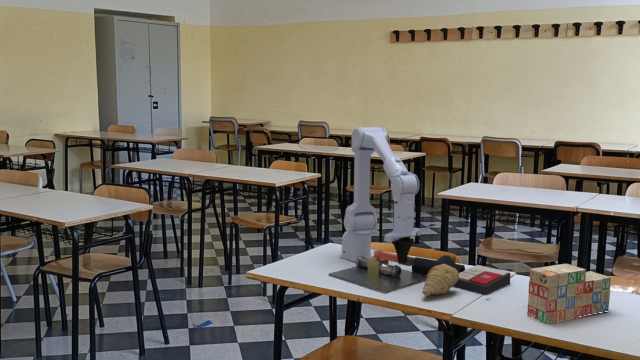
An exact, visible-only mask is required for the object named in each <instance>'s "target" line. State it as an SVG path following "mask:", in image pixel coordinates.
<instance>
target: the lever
mask: <svg viewBox="0 0 640 360" xmlns="http://www.w3.org/2000/svg"><path fill="white" fill-rule="evenodd" d="M373 257H375V258H380V259H384V260H388V262H393V263H397V264H398V265H403V266H406V267H412V265H414V258H415V257H413V256H409V255H408V256H407V259H406V263H405V264H403V263H399V262H398V257H397V253H391V252H388V251H384V250H381V249H380V250H379V249H376V250H374V251H373Z"/></svg>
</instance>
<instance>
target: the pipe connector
mask: <svg viewBox="0 0 640 360" xmlns="http://www.w3.org/2000/svg"><path fill="white" fill-rule="evenodd" d="M456 258H457V257H456V256H451V255H449V254H442V255H441V256H439V258H438V259H436V260H435V259H430V258H424V257H419V256H416V257H414V265H412V266H411V272H415V273H419V274H422V275H426V276H427V274H428V272H429V270H430V269H431V268H432V267H434V266H437V265H441V264H446V265H449V266H451V267H453V268H455V269H456V270H457V271H458V273H461V272H463V271H465V270H466V267H465V264H460V263H456V261H457V260H456Z"/></svg>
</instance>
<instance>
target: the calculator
mask: <svg viewBox="0 0 640 360" xmlns="http://www.w3.org/2000/svg"><path fill="white" fill-rule="evenodd" d="M510 284H511V272H509V271H507V270H502V269H497V268H492V267H488V266H483V265H479V264H476V265H474V266H472V267H469V268H466V269H465V271H463V272H461V273H459V277H458V281H457V283H455V284H454V285H453V286H452V287H451V288H456V289H459V290H463V291H467V292H471V293H476V294H480V295H484V296H487V295H490V294H492V293H494V292H497V291H498V290H500V289H501V288H505V287H507V286H508V285H510Z"/></svg>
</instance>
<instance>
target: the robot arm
mask: <svg viewBox="0 0 640 360" xmlns="http://www.w3.org/2000/svg"><path fill="white" fill-rule="evenodd" d="M388 134H389V133H388V132H387V129H386V128H385V127H383V126H377V127H375V126H373V127H371V126H370V127H367V126H365V127H363V126H362V127H360V126H356V127H355V128H354V130H353V131H352V133H351V152H352V153H354V163H353V164H354V168H353V171H354V175H353V177H354V179H353V183H354V184H353V202H352V204H350V205H349V206H348V207H346V208H345V214H344V218H343V225H344V228H345V232H344V233H343V235H342V237H341V255H339V258H342V259H345V260H348V261H352V262H355V263H356V259H357V257H358V256H364V257H365V258H367V259H368V258H372V257H373V256H372V255H371V251H372V249H371V248H372V234H374V231H375V230H376V229H377V227H378V218H377V217H378V216H377V210H376V208H375V207H374V206H372V204H370V193H371V192H370V191H371V190H370V188H371V186H370V184H371V156H372V154H374V153H376V154H377V155H378V156H379V157H380V159H381V160H382V162H383V165H382V168H383V170H384V172H385V173H386V175H387V177H388V179H389V180H390V189H391V193H392V200H393V203H394V205H393V224H392V225H393V226H392V231H390V232H388V233H385V234H384V242H385V243H386V242H387V243H392V245H393V246H394V249H395V252H396V253H395V254H397V257H398V262H399V263H403V264H405V263H406V259H407V256H409V252H410V250H411V248H412V246H413V244H415V239H414V238H411V237H416V236H418V237H419V236H421V231H422V230H421V228H418V227H414V221H415V219H414V218H415V203H416V202H415V200H416V199H415V197H416V195H417V194H418V192H419V191H420V180H419V178H418V176H417V174H415V173H412V172H410V171H408V169H407V167H406V165H405V164H404V162H403V161H402V159H401V158H400V157H399V156H395V155H394V153H393V151H392V149H391V147H390V145H389V143H388V139H389V138H388V137H389V136H388Z"/></svg>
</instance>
